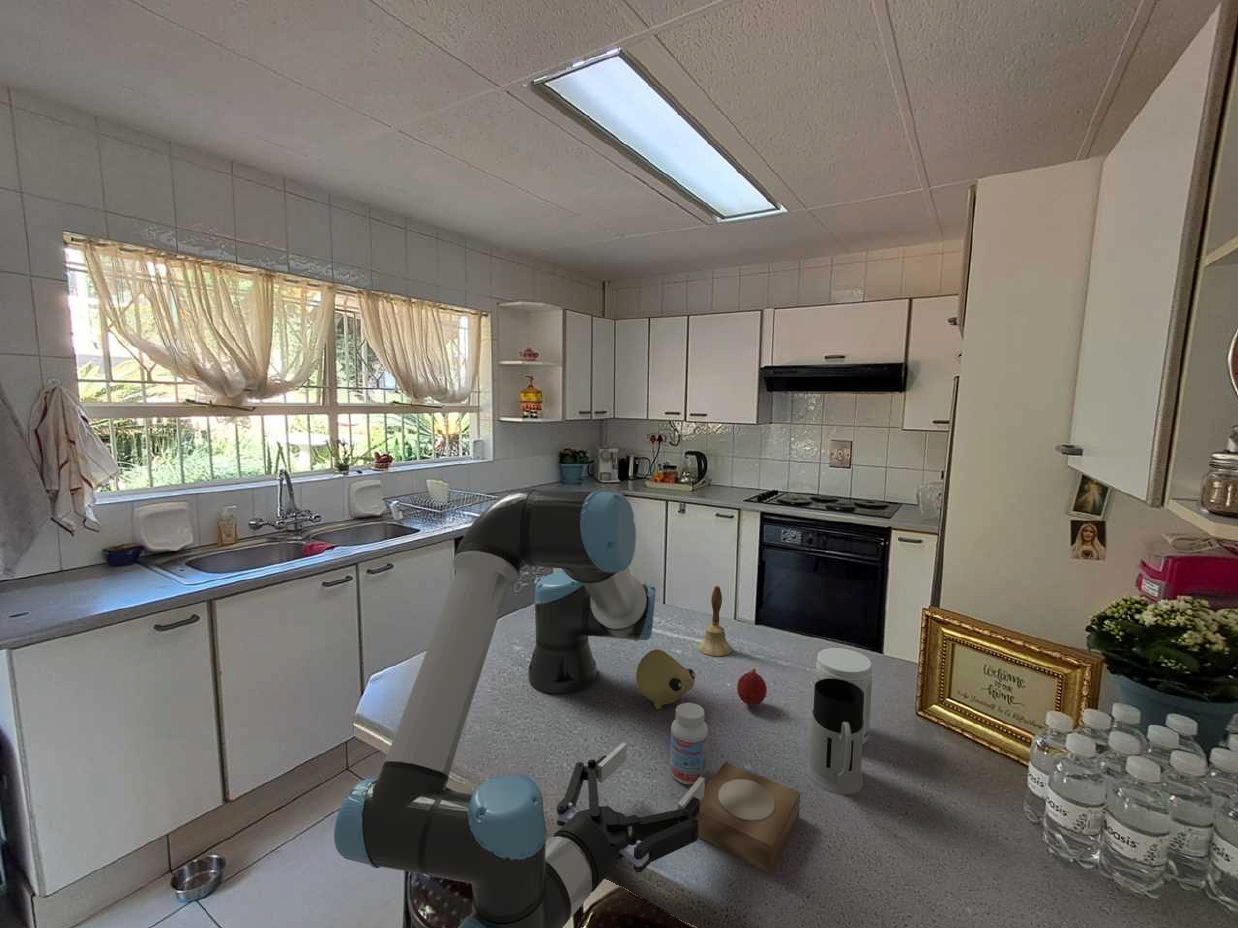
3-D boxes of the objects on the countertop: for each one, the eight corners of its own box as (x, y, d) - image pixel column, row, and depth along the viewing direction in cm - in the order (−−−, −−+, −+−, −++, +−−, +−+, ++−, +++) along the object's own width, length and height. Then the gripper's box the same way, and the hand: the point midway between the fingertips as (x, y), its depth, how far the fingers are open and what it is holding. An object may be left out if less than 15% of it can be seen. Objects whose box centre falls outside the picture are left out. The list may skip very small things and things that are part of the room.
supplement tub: (839, 713, 108) (843, 642, 106) (880, 740, 100) (885, 664, 98) (802, 726, 104) (805, 653, 102) (842, 755, 96) (846, 676, 94)
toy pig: (673, 725, 104) (673, 672, 103) (626, 701, 113) (626, 651, 111) (702, 704, 112) (703, 654, 110) (657, 683, 120) (657, 636, 118)
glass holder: (857, 762, 94) (862, 679, 92) (876, 824, 80) (882, 729, 78) (804, 754, 96) (807, 673, 94) (813, 814, 82) (818, 721, 80)
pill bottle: (665, 780, 89) (666, 715, 88) (676, 757, 95) (677, 696, 94) (702, 790, 87) (703, 724, 86) (710, 766, 93) (712, 704, 91)
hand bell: (707, 638, 142) (708, 579, 140) (737, 647, 137) (739, 585, 135) (692, 650, 135) (693, 588, 133) (723, 660, 130) (724, 595, 128)
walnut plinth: (689, 832, 79) (690, 805, 78) (724, 784, 88) (725, 760, 88) (771, 873, 72) (772, 844, 71) (799, 816, 82) (800, 791, 81)
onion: (766, 715, 107) (768, 677, 106) (736, 712, 109) (738, 674, 108) (765, 699, 113) (766, 663, 112) (736, 696, 114) (737, 660, 113)
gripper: (499, 844, 73) (596, 759, 90) (659, 953, 59) (738, 827, 76) (498, 793, 72) (596, 716, 90) (660, 890, 58) (739, 777, 75)
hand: (661, 767), depth 83 cm, fingers open, 13 cm apart
